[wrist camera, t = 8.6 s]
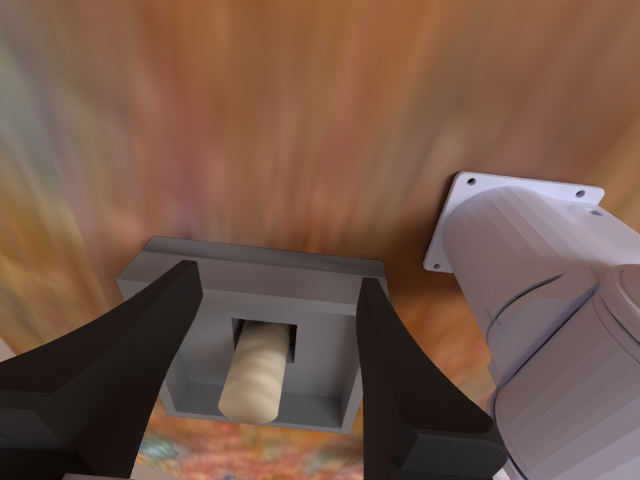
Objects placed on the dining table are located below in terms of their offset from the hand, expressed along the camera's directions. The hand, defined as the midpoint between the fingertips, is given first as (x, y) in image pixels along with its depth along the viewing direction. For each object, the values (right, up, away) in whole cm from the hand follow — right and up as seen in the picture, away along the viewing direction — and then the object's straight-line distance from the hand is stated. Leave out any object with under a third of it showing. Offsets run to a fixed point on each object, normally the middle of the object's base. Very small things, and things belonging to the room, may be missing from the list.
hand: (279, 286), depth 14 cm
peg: (-3, -6, +16) cm, 17 cm away
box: (-3, -6, +16) cm, 17 cm away
